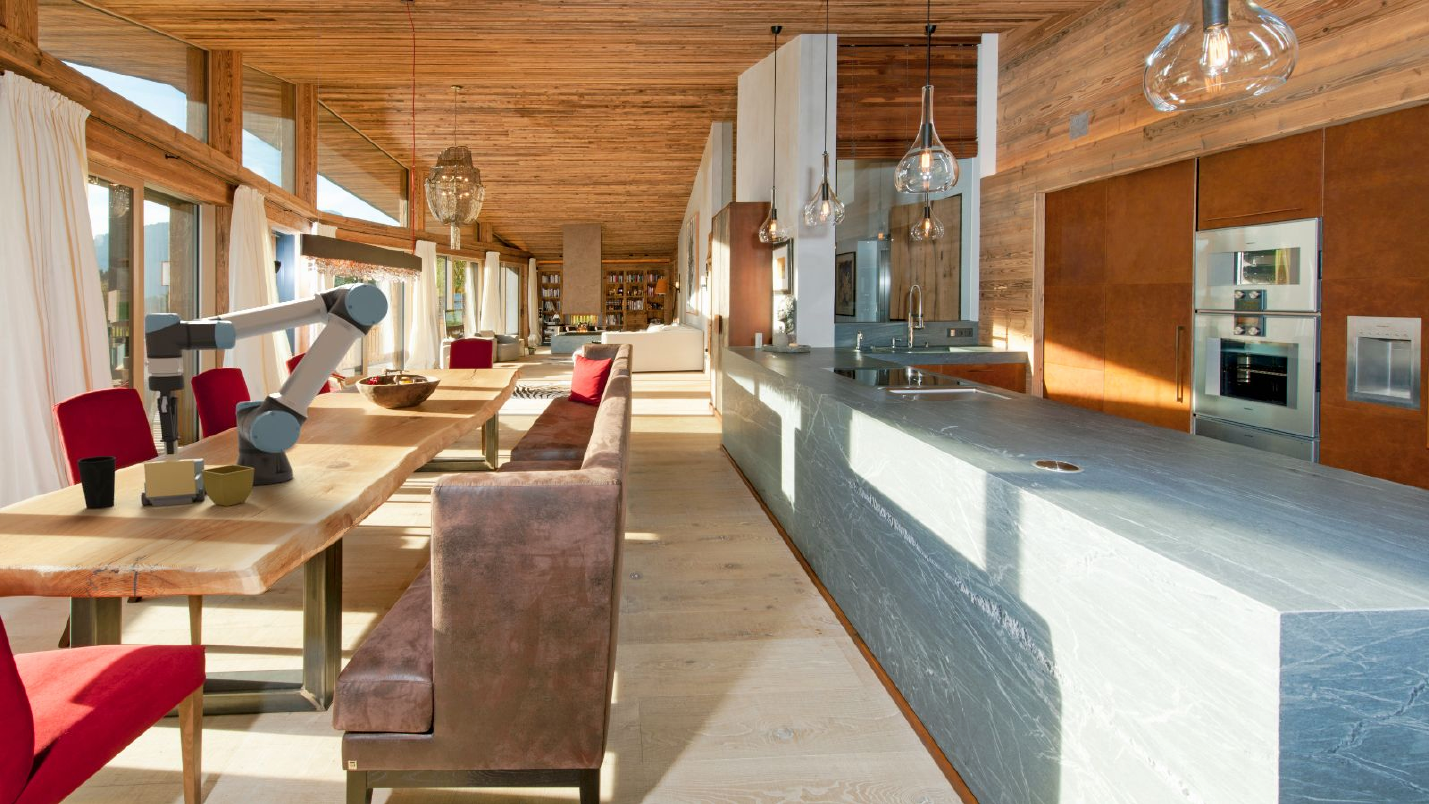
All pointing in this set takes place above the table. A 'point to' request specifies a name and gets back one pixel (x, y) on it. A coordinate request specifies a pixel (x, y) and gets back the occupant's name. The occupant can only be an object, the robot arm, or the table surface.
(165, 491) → the panel
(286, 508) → the table surface
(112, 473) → the cup
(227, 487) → the flower pot
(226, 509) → the table surface
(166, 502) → the truck
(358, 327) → the robot arm
